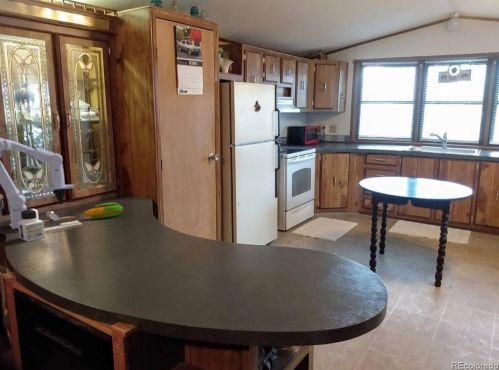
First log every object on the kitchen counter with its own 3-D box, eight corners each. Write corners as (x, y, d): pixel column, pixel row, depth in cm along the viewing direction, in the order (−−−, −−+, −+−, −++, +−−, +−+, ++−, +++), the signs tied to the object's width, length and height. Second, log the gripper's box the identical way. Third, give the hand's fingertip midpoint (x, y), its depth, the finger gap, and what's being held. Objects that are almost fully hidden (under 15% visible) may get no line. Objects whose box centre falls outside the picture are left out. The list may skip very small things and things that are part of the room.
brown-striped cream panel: (34, 225, 193) (33, 217, 193) (70, 219, 204) (69, 211, 204) (44, 234, 179) (43, 225, 178) (82, 226, 190) (81, 218, 189)
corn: (124, 202, 208) (84, 207, 198) (125, 216, 209) (85, 221, 199) (120, 200, 214) (82, 205, 204) (121, 214, 215) (83, 219, 205)
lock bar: (46, 216, 193) (45, 211, 193) (53, 215, 195) (52, 210, 195) (52, 221, 185) (52, 216, 184) (59, 219, 187) (59, 215, 186)
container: (27, 241, 169) (23, 213, 166) (19, 238, 173) (15, 210, 171) (45, 237, 175) (42, 209, 172) (37, 234, 179) (34, 206, 177)
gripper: (44, 180, 188) (47, 207, 191) (75, 176, 197) (77, 202, 200) (40, 178, 193) (43, 205, 196) (71, 175, 203) (73, 200, 205)
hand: (60, 203), depth 198 cm, fingers closed
